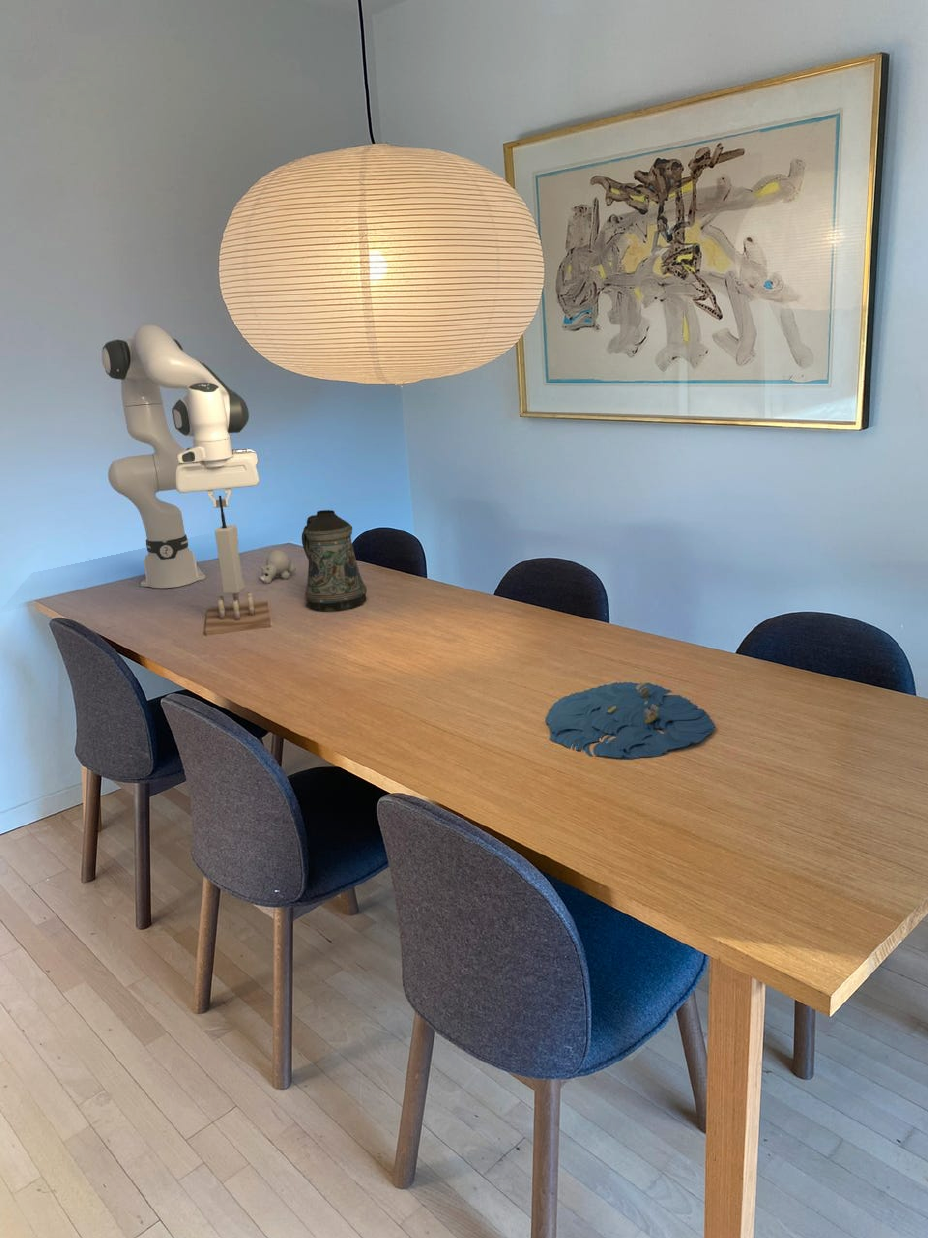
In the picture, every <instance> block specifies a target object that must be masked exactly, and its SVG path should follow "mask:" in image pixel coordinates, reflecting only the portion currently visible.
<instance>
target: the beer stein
mask: <svg viewBox="0 0 928 1238" xmlns="http://www.w3.org/2000/svg"><path fill="white" fill-rule="evenodd" d="M352 534H353V526H352V525H351V524H350V523H349V522H348V521H347V520H344V519H343V518H341V517H340V516H338V515H337V514H336V513H335V510H332V509H331V510H330V509H324V510H318V511H317V512H316V515H315V514H313V515H311V516H310V515H309V516H308V518H307V520H306V525H305V526H304V528H303V530H302V533H301V543H302V548H303V551H304V554H305V555H306V557H307V559H308V571H307V572H308V573H307V585H306V590H305V593H304V596H305V601H306V603H307V607H308V608H309V610H312V611H315V612H318V613H336V612H337V613H338V612H345V611H350V610H354V609H356V608H360V607H361V606H364V604H365V603H366V602H367V601H366V600H367V599H366V597H367V596H366V595H367V590H368V589H367V586H366V585H365V583H364V582H363V579H362V576H361V574H360V570H359V567H358V563H357V559H356V554H355V550H354V546H353V543H352V539H351V538H352V536H351V535H352Z"/></svg>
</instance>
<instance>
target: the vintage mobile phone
mask: <svg viewBox="0 0 928 1238" xmlns="http://www.w3.org/2000/svg"><path fill="white" fill-rule="evenodd" d="M222 499H223V498H222V495H218V500H219V501H220V507H219V508H220V517H221V524H222V526H220V527H218V528H216V529H215V530H214V533H215V540H216V542H215V543H216V547H217V548H216V549H217V553H218V561H219V567H220V574H221V576H220V577H221V582H222V589H223V594H226V595H228V594H229V595H231V594H232V595H233V594H237V593H238V594H239V593H240V592H242V591H243V590H244V589H246V584H245V582H244V579H243V573H242V567H241V560H240V552H239V537H238V529H237V528H238V527H237V525H227V523H226V517H225V511H224V507H223V505H222V504H223V503H222Z"/></svg>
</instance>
